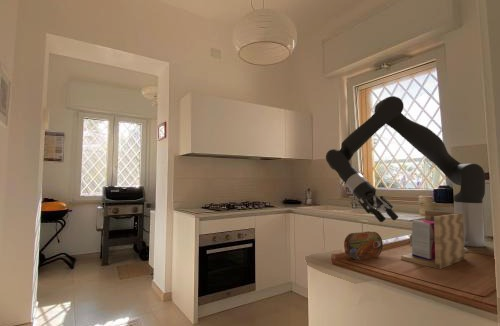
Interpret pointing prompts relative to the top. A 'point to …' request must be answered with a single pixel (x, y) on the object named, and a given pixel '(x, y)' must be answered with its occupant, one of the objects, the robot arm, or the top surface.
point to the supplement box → (423, 239)
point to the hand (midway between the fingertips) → (390, 219)
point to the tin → (363, 245)
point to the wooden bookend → (444, 240)
